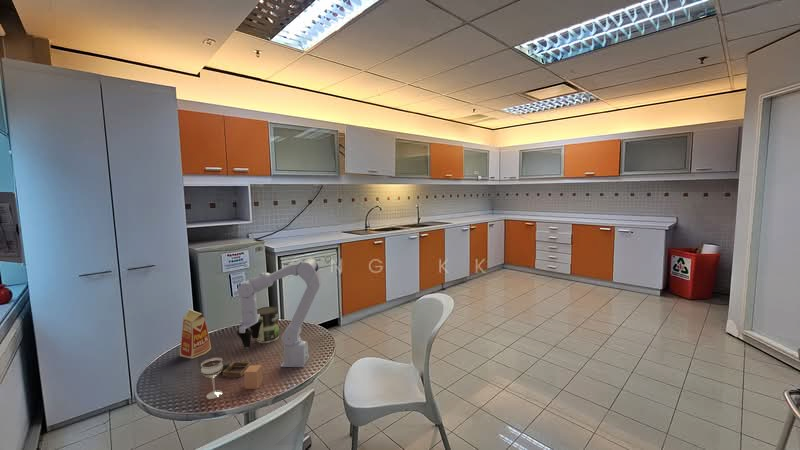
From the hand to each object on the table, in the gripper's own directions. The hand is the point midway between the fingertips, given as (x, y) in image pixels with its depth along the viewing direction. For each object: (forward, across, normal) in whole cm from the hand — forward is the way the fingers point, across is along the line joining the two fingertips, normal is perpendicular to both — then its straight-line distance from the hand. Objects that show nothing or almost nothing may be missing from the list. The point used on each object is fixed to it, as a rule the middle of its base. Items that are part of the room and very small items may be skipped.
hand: (251, 342), depth 137 cm
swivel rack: (+9, +5, -8) cm, 13 cm away
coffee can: (+10, -24, -3) cm, 26 cm away
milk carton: (+10, -10, -29) cm, 33 cm away
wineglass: (+10, +20, -5) cm, 23 cm away
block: (+10, +15, +7) cm, 19 cm away
